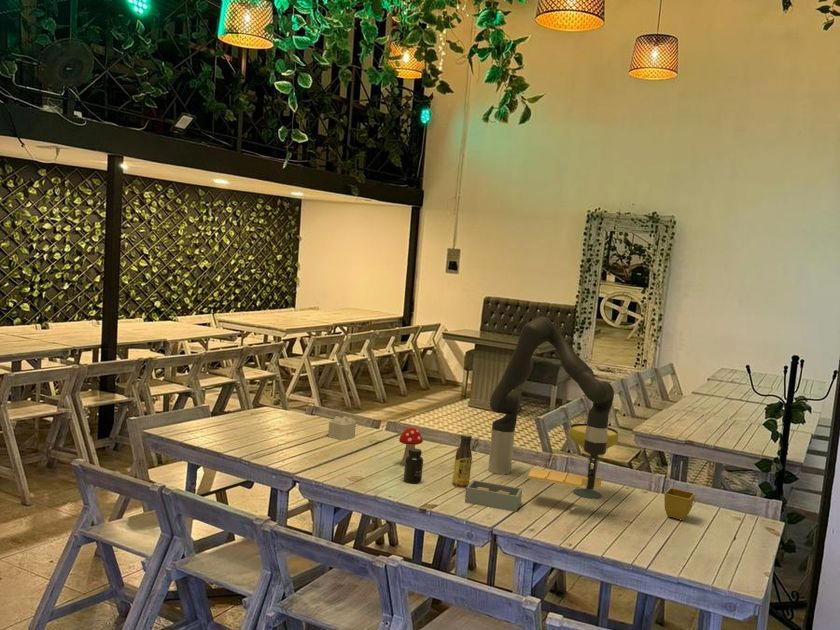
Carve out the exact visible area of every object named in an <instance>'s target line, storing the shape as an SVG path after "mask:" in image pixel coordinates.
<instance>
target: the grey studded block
mask: <svg viewBox="0 0 840 630" xmlns="http://www.w3.org/2000/svg"><path fill="white" fill-rule="evenodd" d="M356 424H357V420H355V419H353V417H348V416H346V415H345V416H343V417H340V416H338V415H337V416H335V417H334V418H333V419H331V420H329V422H328V436H327V437H328V438H330V439H334V440H337V441H348V439H349V440H353V439H355V437H356V428H357V427H356Z"/></svg>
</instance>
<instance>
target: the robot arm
mask: <svg viewBox="0 0 840 630" xmlns="http://www.w3.org/2000/svg"><path fill="white" fill-rule="evenodd" d="M547 342H548V343H549V344H551V345H552V347H554V349H555V351H556V352H557V354H558V357H559V361H560V364H561V366H562V368H563V370H564V371H565V372H566V374H567V375H568V376H570V378H571V379H572V380H574V382H575V383H577V385H578V386H579V388H580V389H581V391H582V393H583V394H584V395H585V397H586V398H587V399H588V400H590V401H591V402H593V403H592V407H591V408H590V409H589V411H588V414H587V420H586V424H587V427H586V432H585V441H584V448H583V451H584V452H585V453H586V454H588V453H590V455H588V456H587V468H586V470H587V475H586V476H587V477H588V484H587V488H588V489H591V490H594V488H595V487H594V481H595V478H597V477H596V476H597V472H598V469H599V465H600V462H601V457H599V456H603V455H605V454H606V452H607V448H606V445H607V435H608V431H607V429H608V428H609V427H608V426H609V415H610V411H611V409H612V406H613V402H614V399H615V398H614V397H615V391H614V388H613V385H612V384H611V383H610V382H607V381H600V382H599V380H597V378H596V377H595V376H594V375H595V374H594V371H593V369H592V368H591V367H590V366H589V365H588V364H587V363H586V362H585V361H584V360H583V359H582V358H581V357H580V356H579V355H578V354H577V353H576V352H575V350H574V349H573V348H572V346H570V344H569V343H568V342H567V340H566V339H565V337H564V336H563V335H562V333H561V332H560V331H559V329H558V328H557V327H556V325H555V324H554V323H553V322H552V321H551V320H550V319H549V318H547V317H545V316H538V317H536V318H535V319H533V320H531V321H529V322H527V323H525V324H524V325H523V327H522V328H521V332H520V334H519V338H518V341H517V345H516V347H515V348H514V351H513V353H512V355H511V358H510V359H509V361H508V363H507V365H506V368H505V371H504V373H503V375H502V376H501V379H500V381H499V383H498V384H497V386H496V387H495V389H494V390H493V392H492V394H491V397H490V400H489V407H490V410H491V411H492V412H493V413H496V414H505V415H504V416H502V417H501V418H498V419H495V420H494V421H493V422H492V426H491V434H490V436H491V437H490V444H489V445H490V446H489V457H488V469H487V470H488V471H489V472H490V473H492V474H498V475H508V474H511V473H512V465H513V464H512V463H513V454H514V453H513V452H514V441H515V430H516V426H517V419H518V413H519V407H520V406H519V405H520V396H519V394H518V392H517V391H515V389H517V388H519V387H521V386H522V385H523V384H525V383H526V382H527V380H528V379H529V377H530V375H531V373H532V371H533V369H534V361H533V357H532V356H533V354H534V353H535V352H536V349H538V348H539V347H540V346H541V345H543V344H545V343H547ZM510 472H511V473H510Z"/></svg>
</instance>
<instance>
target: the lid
mask: <svg viewBox="0 0 840 630" xmlns="http://www.w3.org/2000/svg"><path fill="white" fill-rule="evenodd" d="M527 479H528V480H535V481H540V482H546V483H553V484H559V485H565V486H570V487H575V488H576V487H577V488H582V486H587V484H588V477H587V475H585V476H584V475H575V474H571V473H568V471H566V472H565V473H563V472H558V471H552V470H551V469H550V468H549V469H547V470H546V469H542V468H541V469H540V468H536V467H535V468H531V470H530V472H529V473H528V475H527ZM601 484H602V478H598V477H596V478H595V481H594V488H598V489H599V488H600V489H601Z"/></svg>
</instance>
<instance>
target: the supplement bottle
mask: <svg viewBox="0 0 840 630" xmlns="http://www.w3.org/2000/svg"><path fill="white" fill-rule="evenodd" d="M408 454H409V455H408V456H407V457H406V459H405V466H404V468H403V469H404V470H403V471H404V472H403V481H404V482H405V481H406V483H409V484H419V483H421V482H422V477H423V466H424V459H423V457H422V449H420V448H416V447H415V448H411V449H409V453H408Z"/></svg>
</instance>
